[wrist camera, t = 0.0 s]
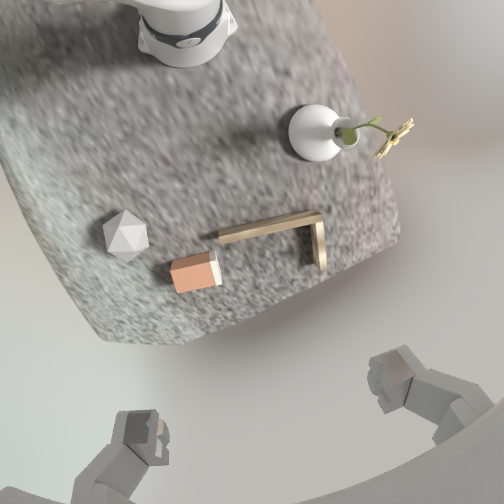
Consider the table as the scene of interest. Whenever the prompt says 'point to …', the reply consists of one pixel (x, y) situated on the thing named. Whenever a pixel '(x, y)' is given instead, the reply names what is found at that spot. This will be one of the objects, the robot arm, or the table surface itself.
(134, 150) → the table surface
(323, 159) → the flower in vase
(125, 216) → the die
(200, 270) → the block
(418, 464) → the robot arm
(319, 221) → the wooden corner bracket
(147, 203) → the table surface
